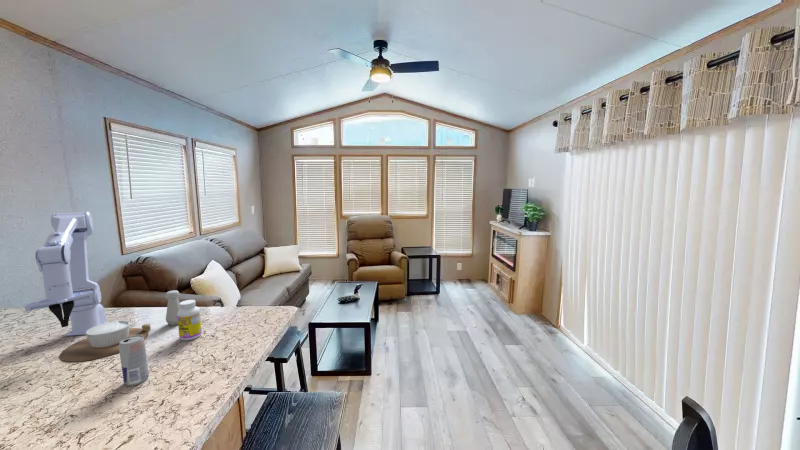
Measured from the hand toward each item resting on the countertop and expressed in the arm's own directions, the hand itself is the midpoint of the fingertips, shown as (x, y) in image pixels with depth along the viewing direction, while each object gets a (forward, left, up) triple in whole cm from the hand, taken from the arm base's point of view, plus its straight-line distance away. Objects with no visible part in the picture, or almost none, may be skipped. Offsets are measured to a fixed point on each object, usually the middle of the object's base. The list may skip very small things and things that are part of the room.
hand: (64, 325), depth 100 cm
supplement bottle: (-6, +33, -10) cm, 35 cm away
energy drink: (+19, +30, -10) cm, 37 cm away
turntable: (-6, +7, -10) cm, 13 cm away
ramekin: (-6, +8, -10) cm, 14 cm away
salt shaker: (-19, +22, -10) cm, 30 cm away
